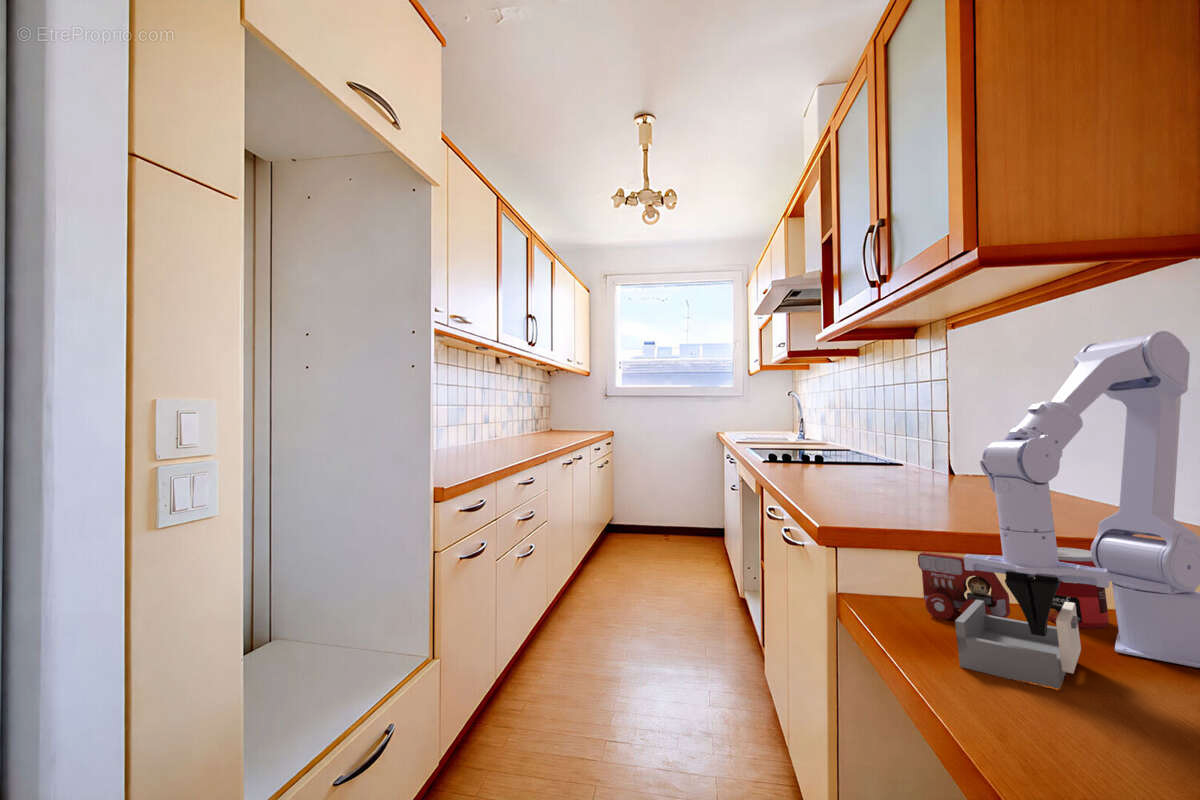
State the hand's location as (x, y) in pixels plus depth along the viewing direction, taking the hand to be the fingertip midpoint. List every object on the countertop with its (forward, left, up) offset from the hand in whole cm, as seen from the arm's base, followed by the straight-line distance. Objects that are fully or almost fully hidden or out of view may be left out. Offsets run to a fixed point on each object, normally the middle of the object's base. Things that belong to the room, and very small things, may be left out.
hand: (1039, 633), depth 66 cm
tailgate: (-2, 0, -2) cm, 3 cm away
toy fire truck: (+12, -15, -5) cm, 20 cm away
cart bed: (+3, 0, -4) cm, 5 cm away
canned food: (-1, -24, -5) cm, 25 cm away
